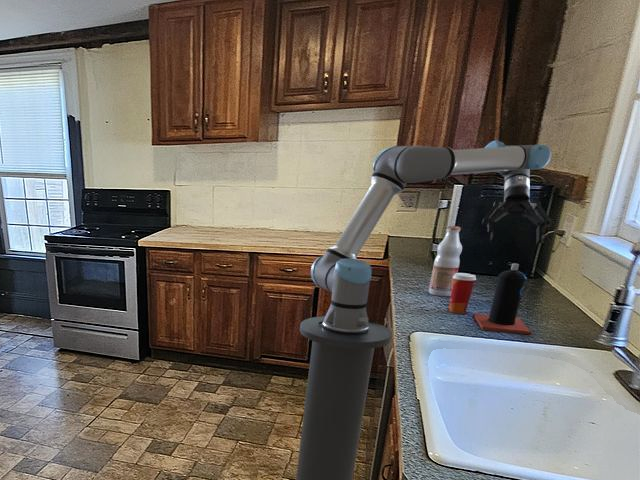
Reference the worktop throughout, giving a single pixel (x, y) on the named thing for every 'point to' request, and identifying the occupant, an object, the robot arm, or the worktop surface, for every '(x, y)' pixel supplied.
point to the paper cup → (461, 292)
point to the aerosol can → (507, 296)
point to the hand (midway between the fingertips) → (515, 240)
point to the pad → (486, 325)
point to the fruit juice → (446, 263)
